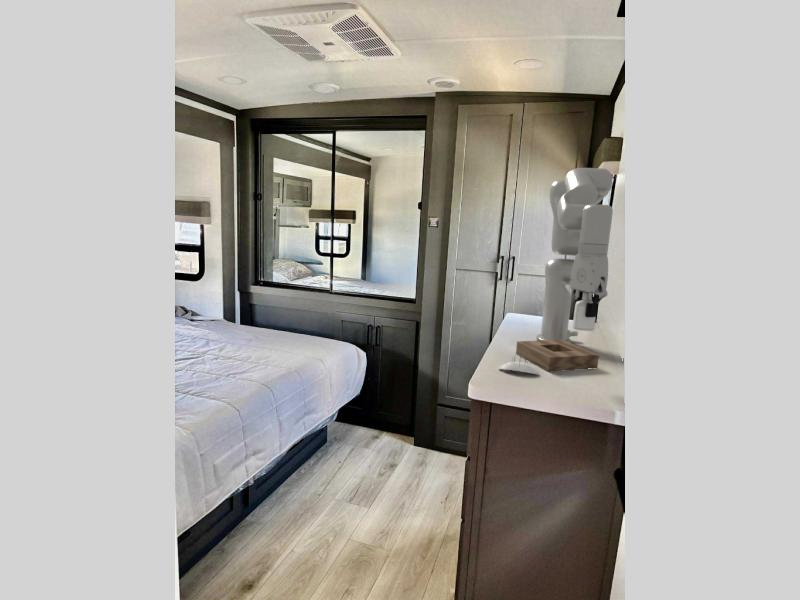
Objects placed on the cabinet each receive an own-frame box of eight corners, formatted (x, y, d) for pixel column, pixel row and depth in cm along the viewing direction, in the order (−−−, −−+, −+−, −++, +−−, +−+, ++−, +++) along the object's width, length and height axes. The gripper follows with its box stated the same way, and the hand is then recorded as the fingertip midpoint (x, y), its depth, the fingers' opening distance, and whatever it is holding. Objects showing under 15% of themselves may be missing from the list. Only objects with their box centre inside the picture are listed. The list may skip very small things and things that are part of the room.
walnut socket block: (560, 352, 157) (562, 339, 156) (597, 368, 140) (599, 354, 139) (515, 354, 151) (517, 341, 150) (548, 371, 134) (549, 357, 133)
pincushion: (496, 373, 132) (498, 354, 131) (498, 367, 137) (500, 349, 136) (539, 379, 128) (541, 360, 127) (539, 372, 134) (541, 354, 133)
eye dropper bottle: (592, 332, 124) (598, 289, 122) (571, 329, 127) (576, 287, 124) (594, 329, 128) (599, 288, 125) (573, 326, 130) (578, 285, 128)
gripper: (562, 247, 130) (555, 309, 133) (603, 252, 114) (594, 322, 117) (583, 248, 132) (576, 309, 135) (627, 253, 116) (617, 321, 120)
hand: (584, 314), depth 126 cm, fingers closed on eye dropper bottle, 3 cm apart
